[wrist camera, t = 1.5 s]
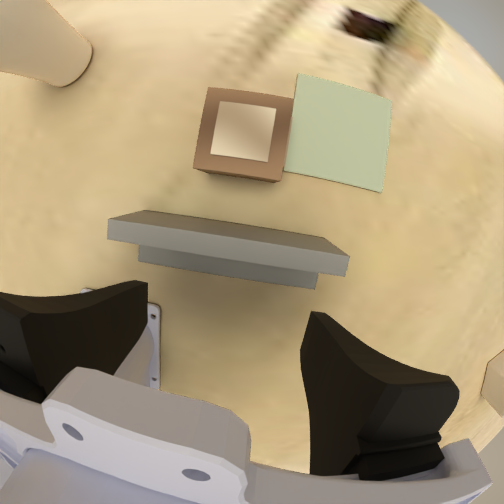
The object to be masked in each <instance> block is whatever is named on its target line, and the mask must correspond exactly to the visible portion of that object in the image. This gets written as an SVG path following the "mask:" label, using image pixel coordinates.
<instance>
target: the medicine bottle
mask: <svg viewBox="0 0 504 504" xmlns="http://www.w3.org/2000/svg"><path fill="white" fill-rule="evenodd" d="M481 395H482V396H483V397H484V398H485V399H486V400H487V401H488V402H489V404H490V405H491V406H492V407H493V408H494V409H495V410H496V411H497V413H498V414H499V415H500V416H501V417H502V418H504V350H503V351H502V352H501V353H500V354H498V355H497V356H496V357H495V358H493V359H492V360H491V361H490V362H488V366H487V370H486V375H485V379H484V383H483V387H482V391H481Z"/></svg>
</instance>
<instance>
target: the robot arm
mask: <svg viewBox="0 0 504 504" xmlns="http://www.w3.org/2000/svg"><path fill="white" fill-rule="evenodd" d="M152 314H155V315H156V317H153V316H152ZM300 362H301V372H302V377H303V382H304V387H305V392H306V398H307V403H308V409H309V418H310V474H305V473H299V472H294V471H289V470H285V469H280V468H276V467H272V466H268V465H264V464H260V463H256V462H253V461H250V450H251V436H250V431H249V426H248V425H247V424H246V423H245V422H244V421H243V420H241V419H240V418H239V417H238V416H237V415H235V414H234V413H233V412H232V411H231V410H229V409H226V408H223V407H220V406H217V405H214V404H212V403H209V402H206V401H203V400H198V399H194V398H189V397H185V396H180V395H176V394H172V393H168V392H164V391H161V390H158V389H159V388H160V308H159V307H158V306H157V305H155V304H151V303H148V283H146V282H142V281H137V280H133V281H127V282H123V283H119V284H116V285H112V286H108V287H105V288H101V289H97V290H91V289H87V288H84V289H82V290H81V292H80V293H79V294H73V295H65V296H49V297H33V296H21V295H14V294H8V293H2V292H0V504H469V503H470V502H471V501H473V500H474V499H475V498H477V497H478V496H479V495H480V494H481V493H483V492H484V491H485V490H486V489H487V488H489V486H491V485H492V483H493V482H492V480H491V478H490V476H489V474H488V472H487V470H486V468H485V466H484V465H483V463H482V461H481V459H480V457H479V456H478V454H477V452H476V450H475V449H474V447H473V445H472V443H471V442H470V440H469V439H463V440H460V441H457V442H454V443H451V444H448V445H446V446H444V447H443V448H441V449H440V447H439V445H438V443H437V442H440V440H441V435H440V434H439V432H438V431H439V430H440V429H441V427H442V426H443V425H444V423H445V422H446V421H447V419H448V418H449V417H450V415H451V414H452V412H453V411H454V409H455V407H456V405H457V402H458V399H459V389H458V387H457V386H456V385H455V383H454V382H453V381H452V379H451V378H450V377H449V376H446V375H441V374H436V373H431V372H427V371H423V370H420V369H417V368H413V367H410V366H408V365H405V364H402V363H400V362H398V361H395V360H393V359H391V358H389V357H387V356H385V355H383V354H381V353H379V352H378V351H376V350H374V349H372V348H371V347H369V346H368V345H366V344H365V343H363V342H362V341H360V340H359V339H358V338H356V337H355V336H354V335H352V334H351V333H350V332H349V331H347V330H346V329H345V328H344V327H342V326H341V325H340V324H339V323H338V322H336V321H335V320H334V319H333V318H331V317H330V316H329V315H327V314H326V313H322V312H314V311H311V313H310V317H309V321H308V324H307V328H306V331H305V335H304V338H303V342H302V345H301V349H300ZM153 377H155V378H156V379H155V378H153Z"/></svg>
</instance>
